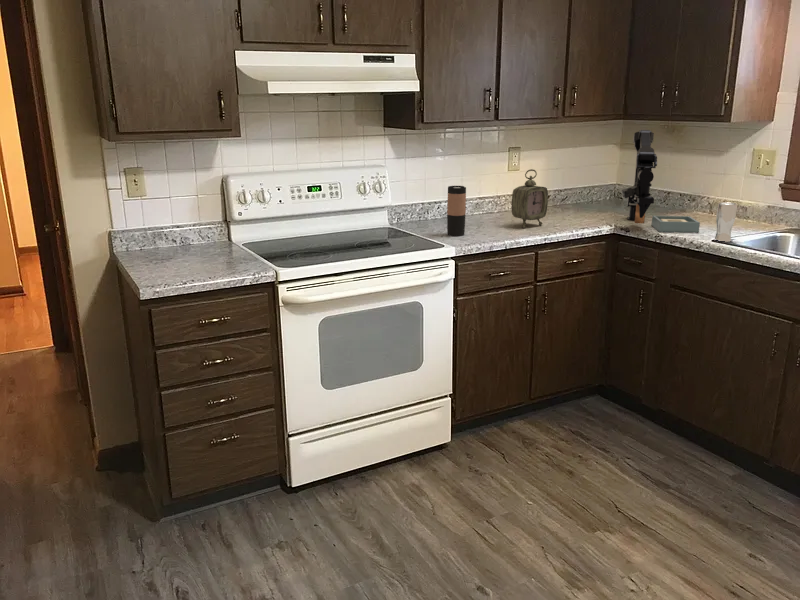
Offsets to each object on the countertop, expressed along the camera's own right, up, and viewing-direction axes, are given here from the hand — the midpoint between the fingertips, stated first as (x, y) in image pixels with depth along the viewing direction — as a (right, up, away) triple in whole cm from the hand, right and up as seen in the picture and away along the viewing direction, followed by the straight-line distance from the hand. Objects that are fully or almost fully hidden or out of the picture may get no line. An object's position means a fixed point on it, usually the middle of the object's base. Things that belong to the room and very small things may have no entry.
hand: (639, 216), depth 298 cm
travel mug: (-81, -9, -11) cm, 82 cm away
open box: (+15, -5, 0) cm, 16 cm away
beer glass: (+25, -13, -23) cm, 36 cm away
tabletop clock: (-48, -3, +8) cm, 48 cm away
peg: (0, -2, +1) cm, 3 cm away
